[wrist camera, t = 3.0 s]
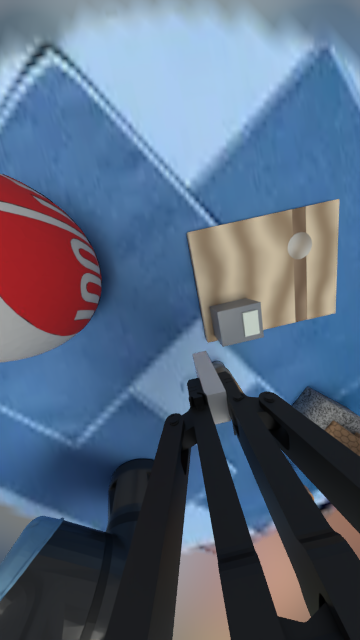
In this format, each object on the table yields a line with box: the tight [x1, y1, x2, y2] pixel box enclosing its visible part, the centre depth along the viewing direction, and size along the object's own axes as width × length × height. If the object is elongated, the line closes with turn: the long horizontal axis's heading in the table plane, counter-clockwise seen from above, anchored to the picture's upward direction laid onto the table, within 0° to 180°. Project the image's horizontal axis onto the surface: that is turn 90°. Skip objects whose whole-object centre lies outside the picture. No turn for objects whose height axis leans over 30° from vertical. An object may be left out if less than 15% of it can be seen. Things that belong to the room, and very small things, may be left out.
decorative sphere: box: [0, 174, 102, 362], centre depth 20 cm, size 20×20×20 cm
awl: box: [212, 361, 243, 393], centre depth 31 cm, size 4×4×10 cm
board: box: [187, 199, 339, 342], centre depth 31 cm, size 26×20×2 cm
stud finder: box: [210, 298, 264, 347], centre depth 29 cm, size 7×6×5 cm
